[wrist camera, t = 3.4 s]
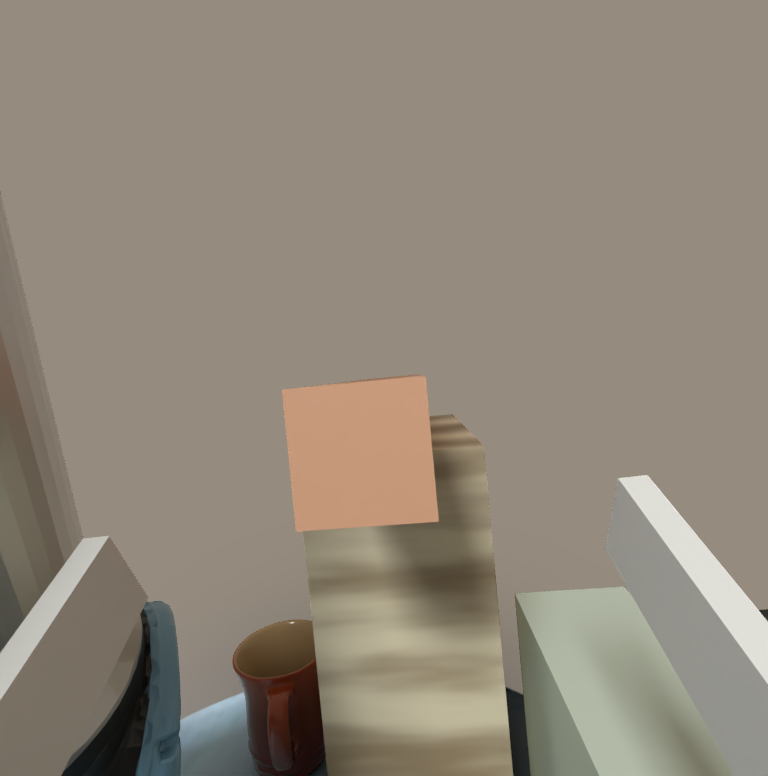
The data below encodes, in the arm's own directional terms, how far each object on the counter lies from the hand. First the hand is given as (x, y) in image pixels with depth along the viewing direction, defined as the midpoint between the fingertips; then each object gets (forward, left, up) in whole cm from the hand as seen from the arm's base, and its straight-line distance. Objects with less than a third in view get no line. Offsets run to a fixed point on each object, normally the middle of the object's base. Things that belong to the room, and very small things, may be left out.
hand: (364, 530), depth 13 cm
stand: (-3, +19, -30) cm, 36 cm away
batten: (-2, +13, 0) cm, 13 cm away
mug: (-16, +22, -30) cm, 41 cm away
